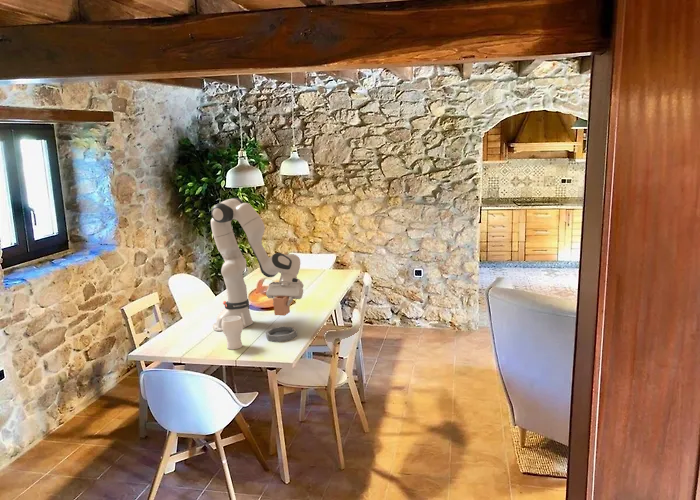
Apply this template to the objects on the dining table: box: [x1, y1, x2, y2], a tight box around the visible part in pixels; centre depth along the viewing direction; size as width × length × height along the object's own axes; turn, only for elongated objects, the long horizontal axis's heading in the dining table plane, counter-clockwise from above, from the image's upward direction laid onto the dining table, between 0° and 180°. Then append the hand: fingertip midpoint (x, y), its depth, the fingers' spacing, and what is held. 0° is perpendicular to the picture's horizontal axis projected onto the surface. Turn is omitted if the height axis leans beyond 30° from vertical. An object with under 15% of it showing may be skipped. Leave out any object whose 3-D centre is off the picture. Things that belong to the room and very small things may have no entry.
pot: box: [272, 296, 291, 317], centre depth 305 cm, size 6×6×9 cm
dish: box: [265, 325, 298, 343], centre depth 304 cm, size 15×15×3 cm
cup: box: [221, 316, 244, 350], centre depth 293 cm, size 11×11×15 cm
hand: (280, 305), depth 304 cm, fingers closed on pot, 6 cm apart
